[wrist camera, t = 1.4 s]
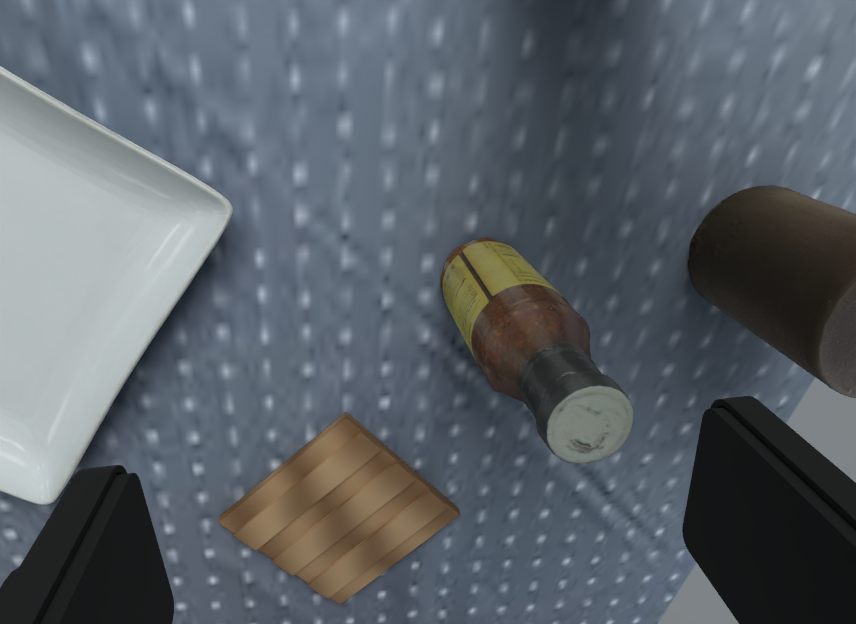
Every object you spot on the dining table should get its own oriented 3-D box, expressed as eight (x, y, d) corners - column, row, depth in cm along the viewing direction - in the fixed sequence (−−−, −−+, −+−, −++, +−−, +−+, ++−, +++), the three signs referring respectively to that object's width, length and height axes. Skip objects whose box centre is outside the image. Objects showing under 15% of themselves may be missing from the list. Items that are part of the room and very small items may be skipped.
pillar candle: (668, 232, 44) (813, 321, 31) (789, 158, 43) (994, 215, 30) (712, 328, 48) (856, 443, 35) (823, 262, 47) (1017, 355, 34)
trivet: (346, 412, 47) (346, 420, 46) (458, 508, 52) (460, 517, 51) (220, 515, 49) (217, 525, 48) (340, 597, 55) (340, 607, 54)
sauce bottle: (470, 329, 45) (556, 518, 27) (420, 269, 43) (479, 433, 25) (541, 277, 44) (679, 438, 27) (495, 212, 42) (613, 341, 24)
